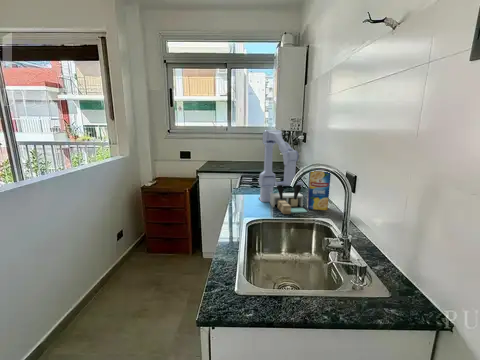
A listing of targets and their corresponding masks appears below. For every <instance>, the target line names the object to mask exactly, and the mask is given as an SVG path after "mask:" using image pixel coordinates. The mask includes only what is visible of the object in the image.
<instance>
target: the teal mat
mask: <svg viewBox="0 0 480 360" xmlns="http://www.w3.org/2000/svg"><path fill="white" fill-rule="evenodd" d="M294 213H295V214H299V213H308V210H307V209H305V208H304V207H291V214H294Z"/></svg>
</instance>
